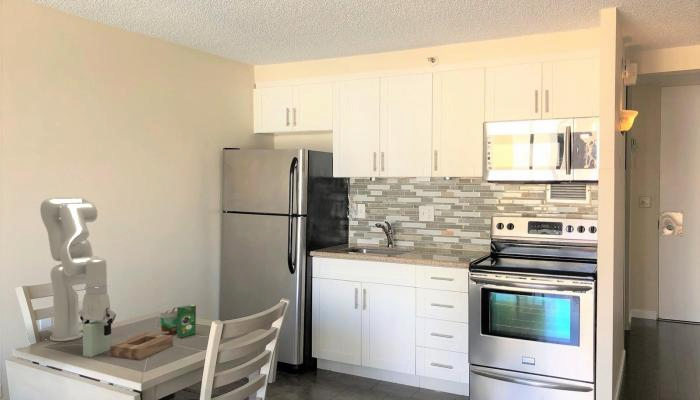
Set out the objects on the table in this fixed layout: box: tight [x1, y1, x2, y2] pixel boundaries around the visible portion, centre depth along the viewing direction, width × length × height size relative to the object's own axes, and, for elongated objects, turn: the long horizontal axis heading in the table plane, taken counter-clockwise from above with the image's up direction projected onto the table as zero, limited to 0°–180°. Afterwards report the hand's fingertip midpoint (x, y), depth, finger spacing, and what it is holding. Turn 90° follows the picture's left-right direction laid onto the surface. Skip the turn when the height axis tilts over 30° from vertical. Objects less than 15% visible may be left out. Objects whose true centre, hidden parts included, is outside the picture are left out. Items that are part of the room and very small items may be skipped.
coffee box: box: [176, 304, 197, 339], centre depth 247 cm, size 8×3×13 cm, turn 139°
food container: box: [159, 306, 178, 336], centre depth 251 cm, size 12×6×10 cm, turn 168°
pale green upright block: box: [82, 320, 111, 358], centre depth 222 cm, size 4×10×12 cm, turn 162°
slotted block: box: [109, 332, 174, 361], centre depth 225 cm, size 14×20×4 cm
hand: (97, 334), depth 222 cm, fingers open, 9 cm apart
